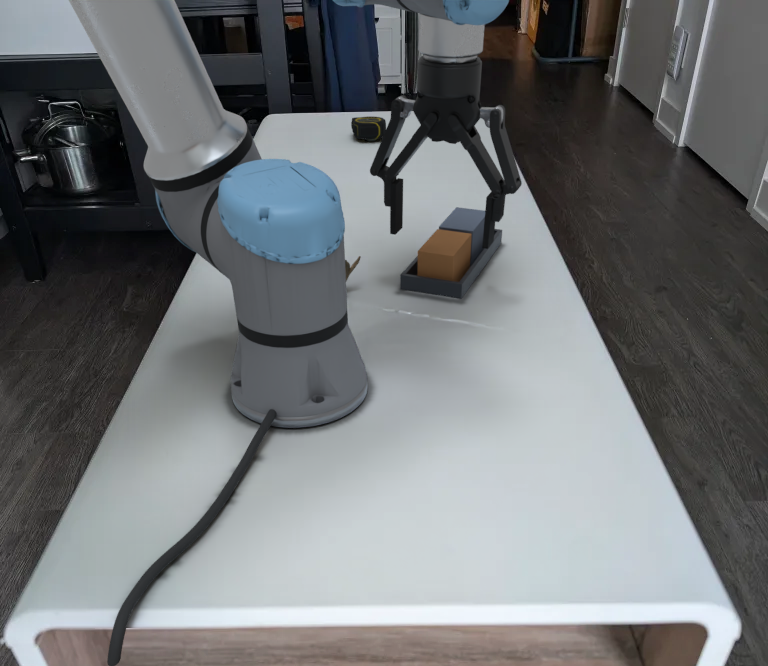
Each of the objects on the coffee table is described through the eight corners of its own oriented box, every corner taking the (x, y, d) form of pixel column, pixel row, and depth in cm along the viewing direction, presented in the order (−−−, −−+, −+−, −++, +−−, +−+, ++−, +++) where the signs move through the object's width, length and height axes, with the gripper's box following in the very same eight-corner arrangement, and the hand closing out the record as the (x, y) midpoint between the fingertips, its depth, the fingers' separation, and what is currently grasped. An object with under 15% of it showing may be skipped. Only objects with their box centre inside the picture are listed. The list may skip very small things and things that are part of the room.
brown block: (452, 292, 107) (453, 256, 104) (417, 286, 109) (417, 251, 105) (469, 268, 113) (471, 233, 109) (436, 263, 114) (437, 228, 111)
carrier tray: (461, 302, 106) (461, 284, 104) (400, 292, 108) (400, 274, 107) (501, 246, 120) (502, 229, 118) (446, 238, 122) (446, 222, 121)
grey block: (471, 265, 113) (472, 231, 110) (437, 260, 115) (438, 226, 112) (486, 244, 119) (489, 211, 116) (455, 240, 120) (456, 206, 117)
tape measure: (384, 133, 165) (384, 113, 162) (387, 142, 159) (387, 122, 157) (351, 134, 164) (350, 115, 162) (353, 144, 159) (352, 124, 157)
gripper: (560, 57, 92) (537, 240, 106) (366, 42, 99) (368, 215, 113) (546, 70, 87) (523, 261, 100) (341, 53, 94) (346, 234, 107)
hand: (441, 237), depth 107 cm, fingers open, 12 cm apart
